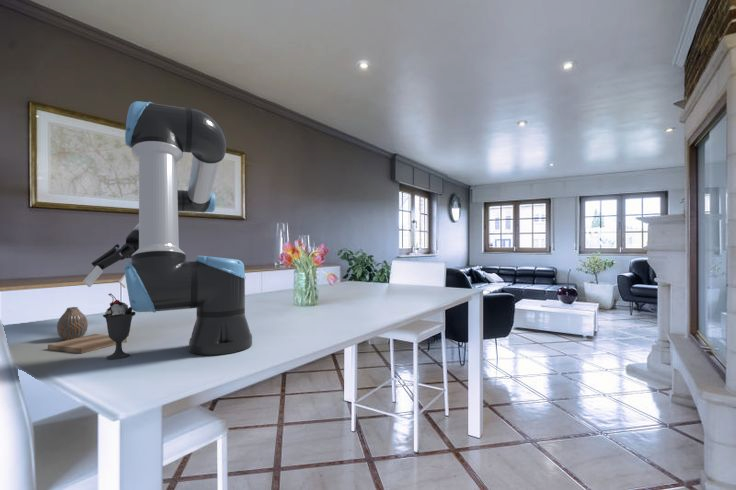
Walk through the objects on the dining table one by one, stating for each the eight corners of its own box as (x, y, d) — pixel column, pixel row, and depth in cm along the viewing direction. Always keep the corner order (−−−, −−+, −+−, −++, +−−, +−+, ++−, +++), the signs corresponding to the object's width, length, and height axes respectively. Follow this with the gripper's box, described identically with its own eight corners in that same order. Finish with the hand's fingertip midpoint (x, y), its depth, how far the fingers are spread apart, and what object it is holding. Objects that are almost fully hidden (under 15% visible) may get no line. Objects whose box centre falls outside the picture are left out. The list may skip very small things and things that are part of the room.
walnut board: (126, 341, 105) (126, 337, 105) (81, 353, 93) (81, 348, 93) (94, 338, 108) (94, 334, 108) (47, 349, 97) (47, 344, 97)
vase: (71, 342, 104) (70, 310, 104) (50, 341, 106) (50, 309, 106) (93, 336, 111) (93, 306, 111) (74, 335, 112) (74, 305, 112)
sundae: (96, 357, 90) (97, 293, 90) (127, 351, 95) (128, 291, 96) (107, 361, 86) (108, 295, 86) (139, 355, 91) (140, 292, 92)
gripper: (179, 244, 132) (144, 293, 118) (120, 244, 138) (80, 291, 124) (167, 228, 127) (130, 277, 113) (106, 229, 133) (63, 276, 119)
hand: (104, 284), depth 118 cm, fingers open, 13 cm apart
